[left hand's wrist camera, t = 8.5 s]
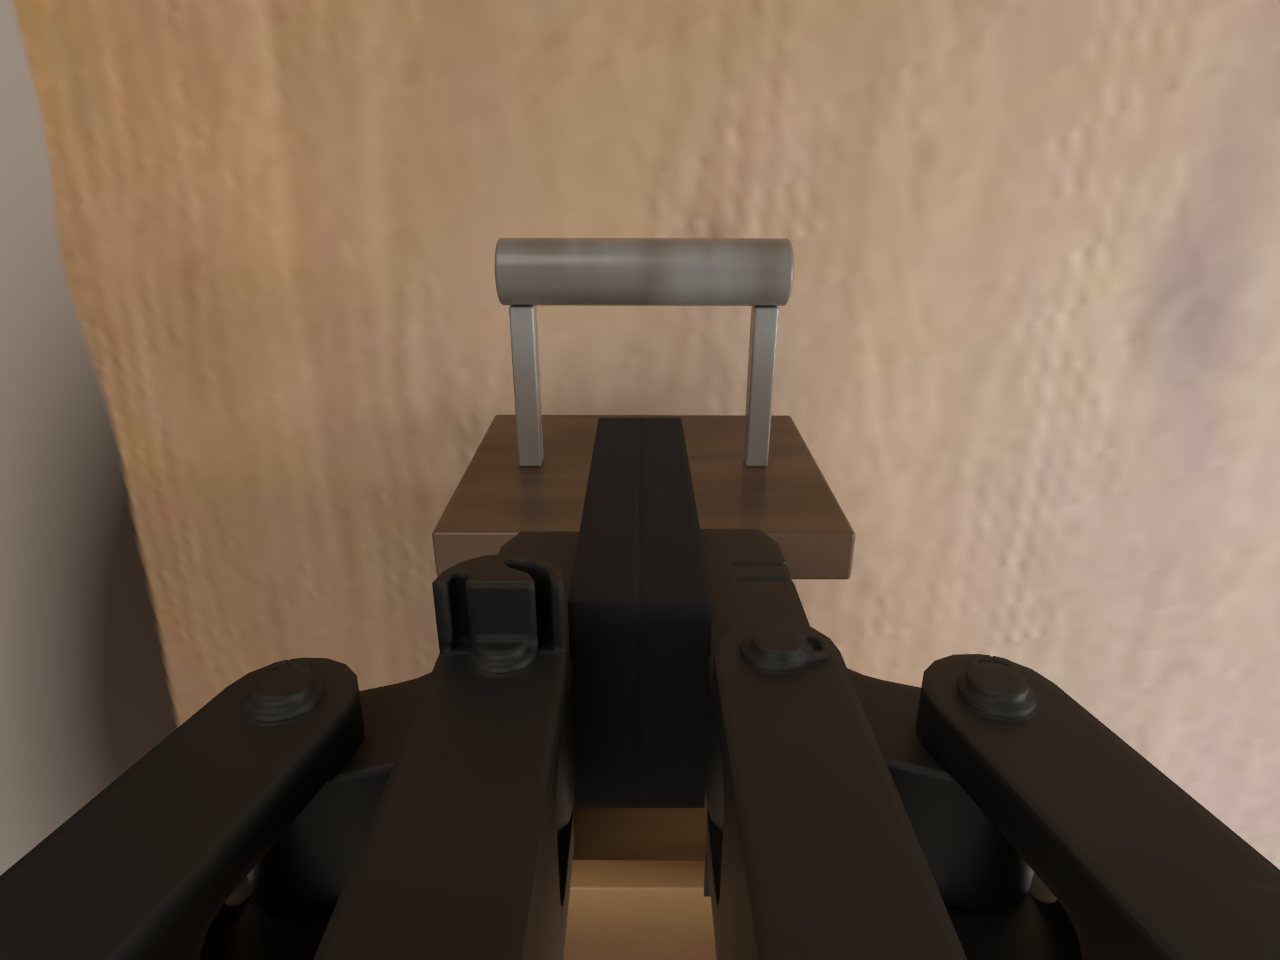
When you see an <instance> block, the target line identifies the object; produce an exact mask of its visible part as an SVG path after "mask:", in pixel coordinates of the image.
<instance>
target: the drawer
mask: <svg viewBox="0 0 1280 960" xmlns="http://www.w3.org/2000/svg"><path fill="white" fill-rule="evenodd" d="M793 272H794V257H793V248H792V244H791V241H790V240H789V239H698V238H501V239H499V240H498V242H497V245H496V250H495V281H496V289H497V294H498V298H499V300H500V303H501V304H502V305H511V306H510V308H509V316H510V332H511V347H512V363H513V379H514V394H515V410H516V415H497V416H495V418H494V420H493V421H492V423H491V425H490V427H489V429H488V431H487V433H486V434H485V436H484V438H483V440H482V442H481V444H480V446H479V447H478V449H477V451H476V453H475V455H474V457H473V459H472V460H471V462H470V464H469V466H468V468H467V470H466V472H465V474H464V475H463V477H462V479H461V481H460V483H459V485H458V487H457V488H456V490H455V492H454V494H453V496H452V498H451V500H450V501H449V503H448V505H447V507H446V509H445V511H444V513H443V514H442V516H441V518H440V520H439V522H438V524H437V526H436V528H435V529H434V531H433V534H432V537H433V546H434V554H435V563H436V572H437V576H439V575H440V574H441V573H442V572H443V571H445V570H447V569H448V568H450V567H452V566H454V565H456V564H458V563H460V562H462V561H466V560H469V559H473V558H477V557H480V556H485V555H496V554H499V551H500V548H501V547H502V546H503V545H504V544H506V543H507V542H508V541H509V540H511V539H512V538H513V537H514V536H516V535H517V534H518V533H520V532H579V531H580V525H581V519H582V513H583V508H584V502H585V496H586V490H587V484H588V478H589V472H590V466H591V460H592V454H593V448H594V443H595V437H596V431H597V425H598V419H599V418H681V419H682V425H683V431H684V437H685V443H686V448H687V454H688V460H689V466H690V472H691V478H692V484H693V490H694V496H695V502H696V508H697V513H698V519H699V525H700V529H760V530H761V531H763V532H764V533H765V534H766V535H768V536H769V537H770V538H772V539H773V540H774V541H775V542H777V543H778V544H779V545H780V548H781V551H782V553H783V556H784V559H785V561H786V566H787V567H788V569H789V572H790V575H791V577H792V579H849V578H850V575H851V567H852V559H853V551H854V543H855V533H854V531H853V529H852V527H851V526H850V524H849V522H848V520H847V518H846V516H845V515H844V513H843V511H842V509H841V507H840V506H839V504H838V502H837V500H836V498H835V496H834V495H833V493H832V491H831V489H830V487H829V486H828V484H827V482H826V480H825V478H824V476H823V475H822V473H821V471H820V469H819V467H818V466H817V464H816V462H815V460H814V458H813V456H812V455H811V453H810V451H809V449H808V447H807V446H806V444H805V442H804V440H803V438H802V436H801V435H800V433H799V431H798V429H797V427H796V426H795V424H794V422H793V420H792V418H791V417H790V416H771V412H772V398H773V384H774V370H775V356H776V342H777V328H778V314H779V309H778V307H777V306H785V305H787V303H788V301H789V299H790V295H791V291H792V284H793ZM536 305H596V306H752V311H751V328H750V346H749V363H748V380H747V398H746V415H745V416H676V415H542V414H541V394H540V374H539V354H538V334H537V314H536ZM573 828H574V853H573V859H581V860H705V853H706V828H707V799H706V789H705V808H575V793H574V803H573Z"/></svg>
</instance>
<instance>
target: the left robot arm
mask: <svg viewBox="0 0 1280 960" xmlns="http://www.w3.org/2000/svg"><path fill="white" fill-rule="evenodd" d="M432 585H433V595H434V604H435V613H436V622H437V631H438V640H439V649H440V654H439V656H438V659H437V661H436V664H435V666H434V669H433V671H432V672H431V673H429V674H426V675H424V676H422V677H419V678H417V679H413V680H409V681H406V682H402V683H398V684H393V685H388V686H383V687H378V688H373V689H368V690H363V691H359V687H358V681H357V675H356V674H355V673H354V672H353V671H352V670H351V669H350V668H349V667H348V666H347V665H346V664H343V663H340V662H336V661H333V660H330V659H327V658H297V659H291V660H284V661H280V662H275V663H273V664H271V665H268V666H266V667H263V668H261V669H258V670H255V671H253V672H250V673H248V674H247V675H245V676H244V677H242V678H240V679H239V680H237V681H236V682H234V683H233V684H231V685H229V686H228V687H226V688H225V689H224V690H223V691H222V692H220V693H219V694H218V695H217V696H216V697H214V698H213V699H212V700H211V701H210V702H208V703H207V704H206V705H205V706H204V707H202V708H201V709H200V710H199V711H198V712H196V713H195V714H194V715H193V716H192V717H190V718H189V719H188V720H187V721H186V722H184V723H183V724H182V725H181V726H180V727H178V728H177V729H176V730H175V731H174V732H172V733H171V734H170V735H169V736H168V737H166V738H165V739H164V740H163V741H162V742H160V743H159V744H158V745H157V746H156V747H154V748H153V749H152V750H151V751H150V752H149V753H147V754H146V755H145V756H144V757H143V758H141V759H140V760H139V761H138V762H136V763H135V764H134V765H133V766H132V767H131V768H129V769H128V770H127V771H126V772H125V773H123V774H122V775H121V776H120V777H118V778H117V779H116V780H115V781H114V782H113V783H111V784H110V785H109V786H108V787H107V788H105V789H104V790H103V791H102V792H100V793H99V794H98V795H97V796H96V797H94V798H93V799H92V800H91V801H90V802H89V803H87V804H86V805H85V806H84V807H83V808H81V809H80V810H79V811H78V812H77V813H75V814H74V815H73V816H72V817H71V818H69V819H68V820H67V821H66V822H65V823H63V824H62V825H61V826H60V827H59V828H57V829H56V830H55V831H54V832H53V833H51V834H50V835H49V836H48V837H47V838H45V839H44V840H43V841H42V842H41V843H39V844H38V845H37V846H36V847H35V848H33V849H32V850H31V851H30V852H29V853H27V854H26V855H25V856H24V857H23V858H21V859H20V860H19V861H18V862H17V863H15V864H14V865H13V866H12V867H11V868H9V869H8V870H7V871H6V872H5V873H3V874H2V875H1V876H0V960H563V958H564V948H565V937H566V927H567V916H568V906H569V895H570V884H571V874H572V863H573V853H574V828H573V803H574V793H575V808H705V789H706V799H707V828H706V853H705V877H704V897H711V904H712V915H713V926H714V936H715V947H716V957H717V960H1280V870H1279V869H1278V868H1277V867H1276V866H1274V865H1273V864H1272V863H1271V862H1270V861H1268V860H1267V859H1266V858H1265V857H1263V856H1262V855H1261V854H1260V853H1259V852H1257V851H1256V850H1255V849H1254V848H1253V847H1251V846H1250V845H1249V844H1248V843H1247V842H1245V841H1244V840H1243V839H1242V838H1241V837H1239V836H1238V835H1237V834H1236V833H1234V832H1233V831H1232V830H1231V829H1230V828H1228V827H1227V826H1226V825H1225V824H1224V823H1222V822H1221V821H1220V820H1219V819H1218V818H1216V817H1215V816H1214V815H1213V814H1211V813H1210V812H1209V811H1208V810H1207V809H1205V808H1204V807H1203V806H1202V805H1201V804H1199V803H1198V802H1197V801H1196V800H1195V799H1193V798H1192V797H1191V796H1190V795H1188V794H1187V793H1186V792H1185V791H1184V790H1182V789H1181V788H1180V787H1179V786H1178V785H1176V784H1175V783H1174V782H1173V781H1172V780H1170V779H1169V778H1168V777H1167V776H1165V775H1164V774H1163V773H1162V772H1161V771H1159V770H1158V769H1157V768H1156V767H1155V766H1153V765H1152V764H1151V763H1150V762H1149V761H1147V760H1146V759H1145V758H1144V757H1142V756H1141V755H1140V754H1139V753H1138V752H1136V751H1135V750H1134V749H1133V748H1132V747H1130V746H1129V745H1128V744H1127V743H1126V742H1124V741H1123V740H1122V739H1121V738H1119V737H1118V736H1117V735H1116V734H1115V733H1113V732H1112V731H1111V730H1110V729H1109V728H1107V727H1106V726H1105V725H1104V724H1103V723H1101V722H1100V721H1099V720H1098V719H1096V718H1095V717H1094V716H1093V715H1092V714H1090V713H1089V712H1088V711H1087V710H1086V709H1084V708H1083V707H1082V706H1081V705H1080V704H1078V703H1077V702H1076V701H1075V700H1073V699H1072V698H1071V697H1070V696H1069V695H1067V694H1066V693H1065V692H1064V691H1063V690H1061V689H1060V688H1059V687H1058V686H1057V685H1055V684H1054V683H1053V682H1051V681H1049V680H1048V679H1046V678H1045V677H1043V676H1042V675H1040V674H1038V673H1037V672H1035V671H1034V670H1032V669H1030V668H1027V667H1025V666H1022V665H1019V664H1017V663H1014V662H1011V661H1009V660H1007V659H1004V658H1000V657H995V656H993V657H991V656H990V655H981V654H966V655H952V656H948V657H945V658H942V659H939V660H936V661H934V662H933V663H932V664H931V665H930V666H929V667H928V668H927V669H926V670H925V671H924V675H923V681H922V687H921V688H919V687H914V686H909V685H904V684H899V683H894V682H889V681H884V680H880V679H876V678H872V677H869V676H865V675H862V674H860V673H857V672H855V671H852V670H850V669H848V668H847V667H846V665H845V663H844V660H843V658H842V655H841V653H840V651H839V650H838V649H837V647H836V646H835V645H834V643H833V642H832V641H831V639H830V638H828V637H826V636H825V635H823V634H822V633H820V632H818V631H817V630H815V629H814V628H811V627H810V625H809V623H808V620H807V617H806V615H805V612H804V609H803V607H802V604H801V601H800V599H799V596H798V593H797V591H796V588H795V585H794V583H793V581H792V577H791V575H790V572H789V569H788V567H787V566H786V561H785V559H784V556H783V553H782V551H781V548H780V545H779V544H778V543H777V542H775V541H774V540H773V539H772V538H770V537H769V536H768V535H766V534H765V533H764V532H763V531H761V530H760V529H700V525H699V519H698V513H697V508H696V502H695V496H694V490H693V484H692V478H691V472H690V466H689V460H688V454H687V448H686V443H685V437H684V431H683V425H682V419H681V418H599V419H598V425H597V431H596V437H595V443H594V448H593V454H592V460H591V466H590V472H589V478H588V484H587V490H586V496H585V502H584V508H583V513H582V519H581V525H580V531H579V532H520V533H518V534H517V535H516V536H514V537H513V538H512V539H511V540H509V541H508V542H507V543H506V544H504V545H503V546H502V547H501V548H500V551H499V554H496V555H485V556H480V557H477V558H473V559H469V560H466V561H462V562H460V563H458V564H456V565H454V566H452V567H450V568H448V569H447V570H445V571H443V572H442V573H441V574H440V575H439V576H438V577H437V579H436V580H435V581H434V582H433V583H432ZM1035 873H1036V874H1035ZM1041 880H1042V881H1041Z"/></svg>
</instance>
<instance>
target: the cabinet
mask: <svg viewBox="0 0 1280 960" xmlns="http://www.w3.org/2000/svg"><path fill="white" fill-rule="evenodd" d="M704 877H705V860H581V859H573V863H572V874H571V884H570V895H569V906H568V916H567V927H566V937H565V948H564V958H563V960H717V957H716V947H715V936H714V926H713V915H712V904H711V897H704Z"/></svg>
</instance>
